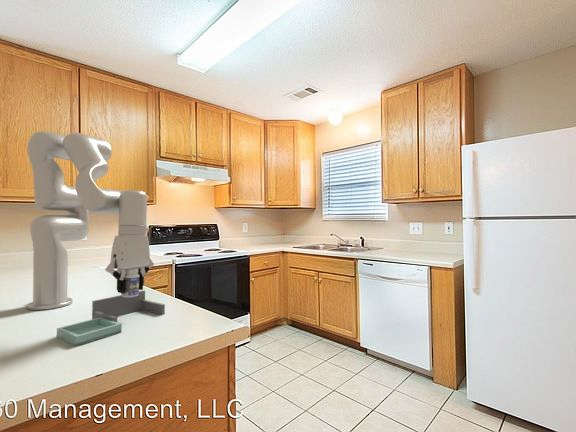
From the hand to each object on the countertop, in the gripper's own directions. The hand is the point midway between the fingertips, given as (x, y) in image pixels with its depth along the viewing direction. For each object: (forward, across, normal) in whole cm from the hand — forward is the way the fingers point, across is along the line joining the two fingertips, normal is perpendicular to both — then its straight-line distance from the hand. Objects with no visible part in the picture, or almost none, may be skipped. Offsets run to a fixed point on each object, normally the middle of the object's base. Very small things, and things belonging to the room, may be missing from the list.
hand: (130, 290), depth 93 cm
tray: (+8, +13, +5) cm, 16 cm away
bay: (+8, 0, 0) cm, 8 cm away
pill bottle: (+2, 0, 0) cm, 2 cm away
